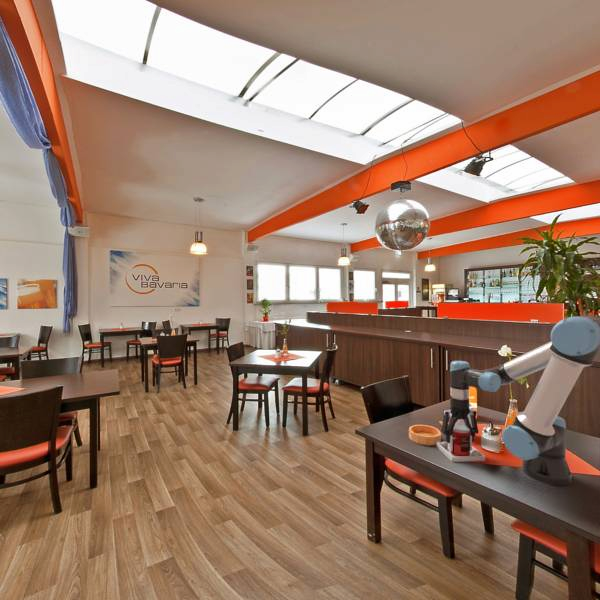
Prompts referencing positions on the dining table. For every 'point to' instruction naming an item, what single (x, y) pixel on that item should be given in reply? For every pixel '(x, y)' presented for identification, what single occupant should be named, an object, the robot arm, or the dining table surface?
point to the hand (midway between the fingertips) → (459, 449)
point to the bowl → (424, 434)
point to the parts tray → (460, 458)
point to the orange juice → (473, 398)
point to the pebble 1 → (444, 445)
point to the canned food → (460, 440)
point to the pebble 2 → (475, 453)
